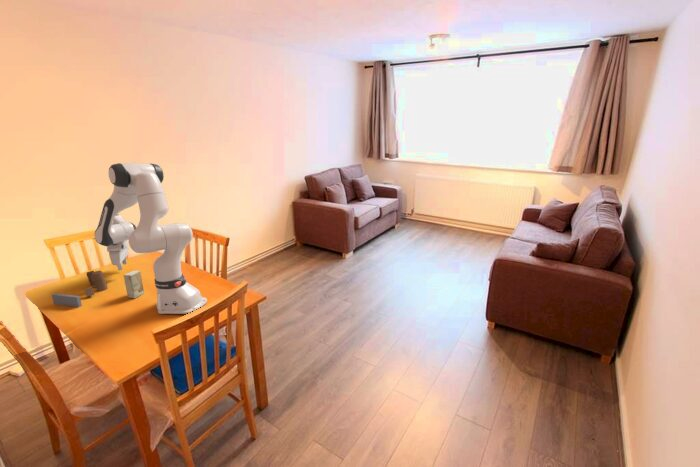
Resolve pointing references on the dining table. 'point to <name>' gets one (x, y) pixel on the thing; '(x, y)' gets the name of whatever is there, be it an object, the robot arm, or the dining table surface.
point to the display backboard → (66, 300)
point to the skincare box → (134, 284)
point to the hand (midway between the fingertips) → (122, 266)
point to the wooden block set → (95, 282)
